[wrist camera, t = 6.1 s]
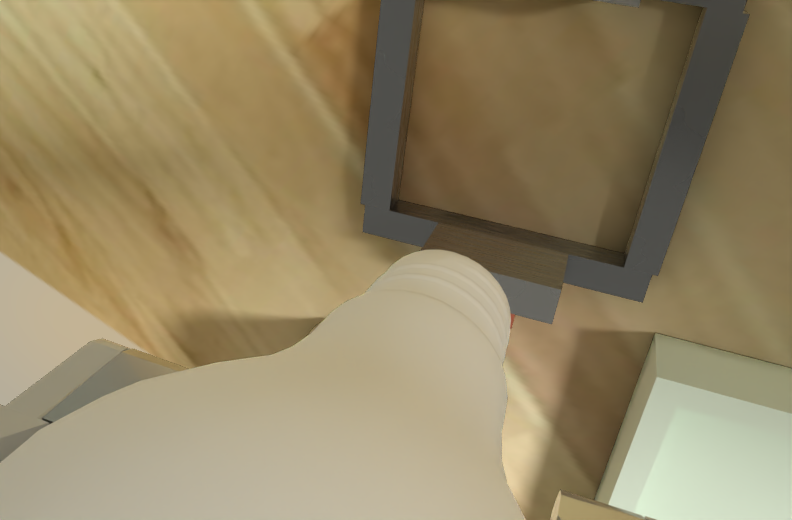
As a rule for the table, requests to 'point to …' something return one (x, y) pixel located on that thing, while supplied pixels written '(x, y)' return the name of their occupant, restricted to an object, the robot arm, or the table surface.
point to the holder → (525, 250)
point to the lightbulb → (303, 421)
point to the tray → (704, 438)
